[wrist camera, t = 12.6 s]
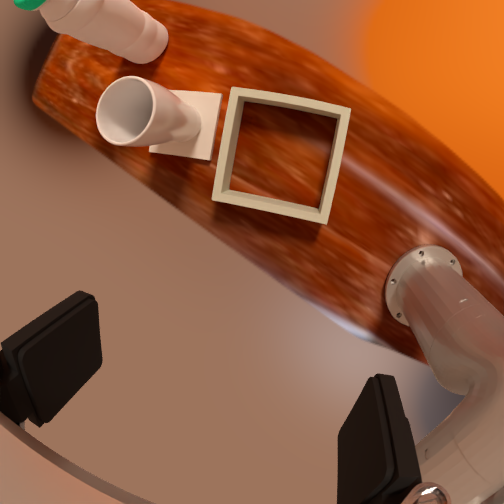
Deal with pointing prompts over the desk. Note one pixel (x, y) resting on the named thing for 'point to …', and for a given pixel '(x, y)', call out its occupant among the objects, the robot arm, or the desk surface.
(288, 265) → the desk surface
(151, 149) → the ceramic tile
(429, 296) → the robot arm
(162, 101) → the drinking glass
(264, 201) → the beige square frame
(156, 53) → the water bottle
